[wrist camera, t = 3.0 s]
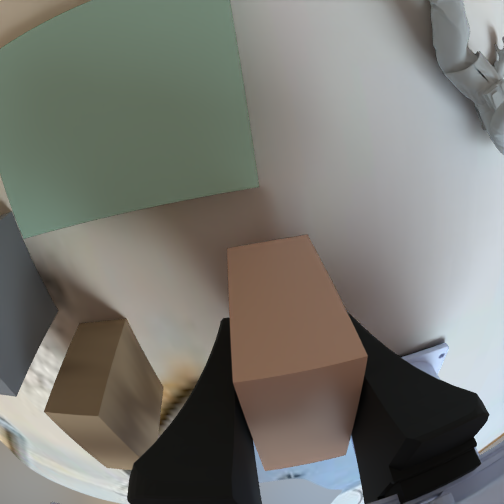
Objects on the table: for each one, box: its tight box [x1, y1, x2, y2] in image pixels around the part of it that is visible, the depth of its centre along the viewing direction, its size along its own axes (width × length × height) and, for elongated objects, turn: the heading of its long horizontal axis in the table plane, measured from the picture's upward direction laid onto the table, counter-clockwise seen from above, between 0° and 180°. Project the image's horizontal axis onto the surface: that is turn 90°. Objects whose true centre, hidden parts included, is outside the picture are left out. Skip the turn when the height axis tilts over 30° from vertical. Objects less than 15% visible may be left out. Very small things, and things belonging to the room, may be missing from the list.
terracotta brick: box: [227, 235, 368, 471], centre depth 10 cm, size 6×3×6 cm, turn 8°
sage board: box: [0, 0, 259, 239], centre depth 9 cm, size 8×10×2 cm
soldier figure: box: [429, 0, 504, 155], centre depth 8 cm, size 8×5×12 cm
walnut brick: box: [44, 318, 163, 470], centre depth 14 cm, size 6×3×6 cm, turn 8°
